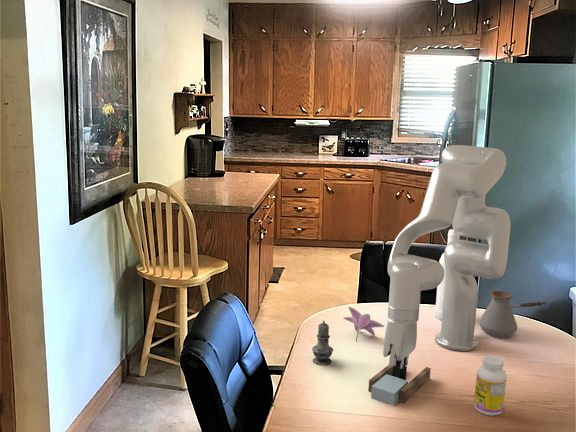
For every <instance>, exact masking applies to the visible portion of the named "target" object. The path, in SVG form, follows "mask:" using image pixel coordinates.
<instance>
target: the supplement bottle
mask: <svg viewBox="0 0 576 432" xmlns="http://www.w3.org/2000/svg"><path fill="white" fill-rule="evenodd" d="M504 363H505V362H504V359H503V358H501V357H499V356H495V355H484V356H483V357H482V365H481V366H479V367H478V369H477V371H476V378H475V380H476V381H475V387H474V389H475V390H474V397H473V398H474V399H473V406H474V409H475V410H476V411H477V412H479V413H481V414H482V415H485V416H498V415H500V414H502V412H503V410H504V404H505V394H506V386H507V373H506V370H504V369H503V368H504V365H505V364H504Z"/></svg>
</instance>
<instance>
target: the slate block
mask: <svg viewBox="0 0 576 432" xmlns="http://www.w3.org/2000/svg"><path fill="white" fill-rule="evenodd" d="M408 383H409V380H407V379H406V380H403V379H400V378H397V377H394V376H391V375H387V374H386V375H385V376H383V377H382V378H381V379H380V380H379V381H377V382H376V383H375V384H374V385H373V386H372V390H371V392H370V393H371V394H370V395H371V396H370V398H371V399H373V400H376V401H379V402H381V403H383V404H387V405H390V406H393V407H394V406H395V405H396V404H397V403H399V397H400V390H401V389H402V388H403V387H404V386H405V385H407V384H408Z"/></svg>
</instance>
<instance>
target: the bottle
mask: <svg viewBox="0 0 576 432" xmlns="http://www.w3.org/2000/svg"><path fill="white" fill-rule="evenodd" d="M460 237H461V235H458V234H456V233H455V232H454V230H453V228H452V229H451V228H450V229H449V230H448V233H447V244H448V243H450V242H451V241H454V240H460V239H461V238H460ZM438 262H439V263H440V264H441V265H442V266H443V268H444V278H443V280H442V282H441V283H440V285H439V286H437V287H436V297H435V298H436V299H435V300H436V301H435V309H434V318H436V319H437V320H439V321H441V322H442V315H443V303H444V292H445V262H444V252H442V254H441V257H440V258H439V261H438Z"/></svg>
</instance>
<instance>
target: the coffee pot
mask: <svg viewBox="0 0 576 432" xmlns="http://www.w3.org/2000/svg"><path fill="white" fill-rule="evenodd" d="M490 296H491V301H490V302H489V303H488V305H487V307H486V308H485V310H484V312H483V313H482V315H481V317H480V318H479V321H478V324H479V327H480V328H481V330H482V331H483V333H485V334H486V335H487V336H491V337H494V338H498V339H500V338H501V339H504V338H509V337H510V336H511V335H513V334H514V333H516V331H517V330H518V323H517V321H516V318H515V316H514V311H513V309H514V308H523V307H524V308H525V307H527V308H529V307H532V308H533V307H535V306H538V307H539V306H542V307H543V309H544V310H548V309H549V304H548V303H547V302H546V301H537V302H532V301H531V302H524V303H520V304H519V303H518V304H510V300H511V299H512V297H513V295H512V294H511V293H510V292H508V291H507V292H506V291H503V290H502V291H501V290H493V291H491V292H490ZM545 305H546V306H547V308H545V307H544V306H545Z"/></svg>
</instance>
